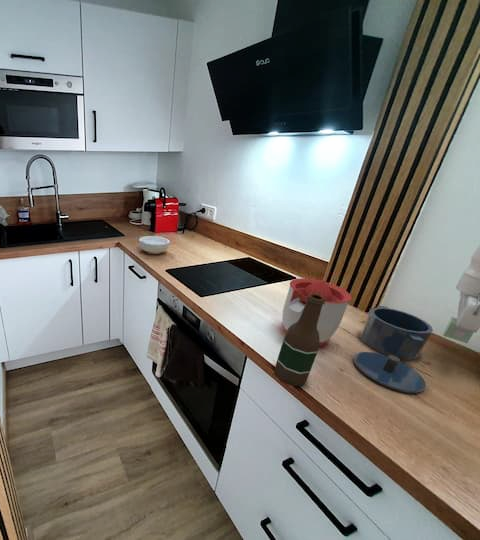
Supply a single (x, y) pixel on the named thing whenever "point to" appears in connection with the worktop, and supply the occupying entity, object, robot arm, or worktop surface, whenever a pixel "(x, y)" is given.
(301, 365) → the beer bottle
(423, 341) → the pot
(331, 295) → the citrus juicer
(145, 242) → the cereal bowl
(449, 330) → the block
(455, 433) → the worktop surface
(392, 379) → the pot lid
